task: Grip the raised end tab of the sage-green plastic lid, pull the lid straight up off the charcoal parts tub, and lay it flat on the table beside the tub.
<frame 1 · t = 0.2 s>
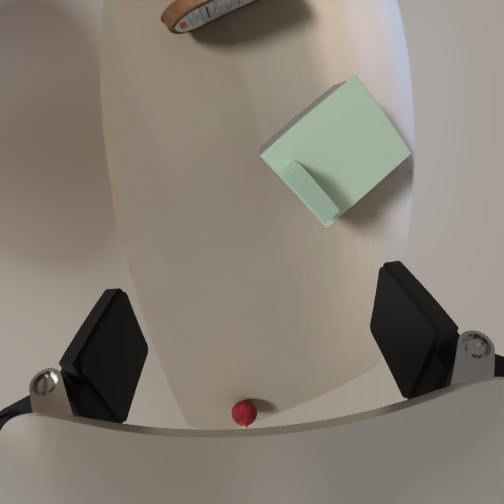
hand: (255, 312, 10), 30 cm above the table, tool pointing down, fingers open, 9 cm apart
onion: (244, 400, 60), on the table
tin: (222, 10, 26), on the table
tub: (323, 145, 35), on the table
lid: (336, 149, 30), point 6 cm above the table, touching tub
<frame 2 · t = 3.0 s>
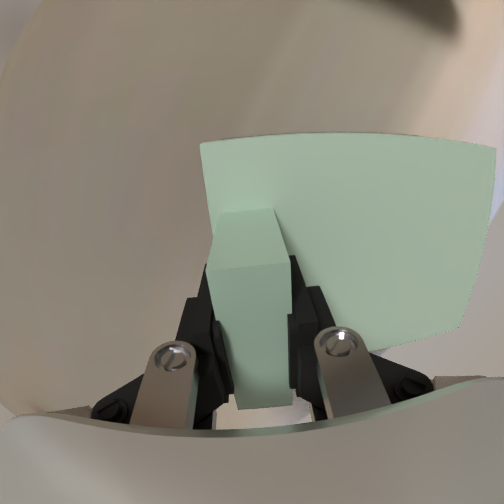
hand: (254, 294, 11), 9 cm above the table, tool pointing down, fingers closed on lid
lid: (364, 244, 14), point 6 cm above the table, touching gripper
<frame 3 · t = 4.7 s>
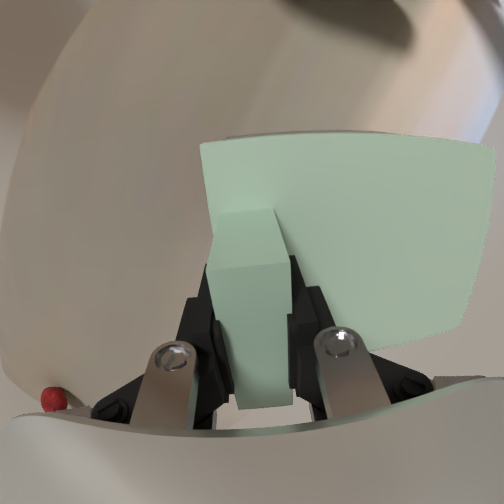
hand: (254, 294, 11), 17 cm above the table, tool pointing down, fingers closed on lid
onion: (60, 387, 41), on the table
tub: (307, 187, 26), on the table
lid: (364, 244, 14), point 14 cm above the table, touching gripper
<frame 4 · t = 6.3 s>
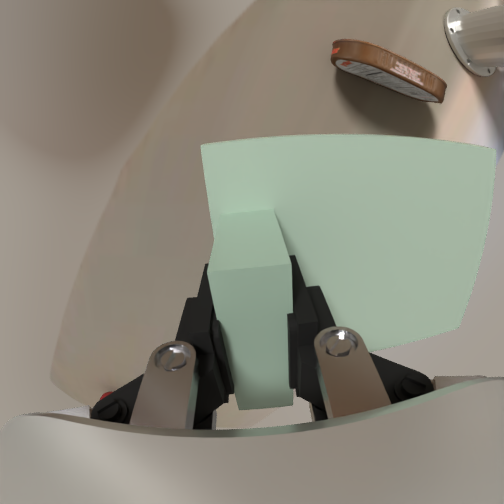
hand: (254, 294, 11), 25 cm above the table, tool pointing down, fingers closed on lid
tin: (376, 77, 28), on the table
lid: (364, 245, 14), point 22 cm above the table, touching gripper
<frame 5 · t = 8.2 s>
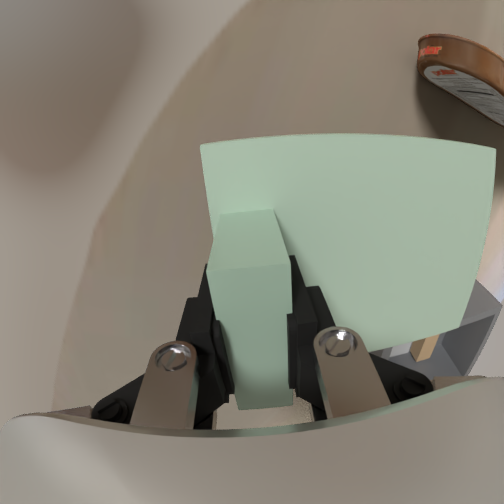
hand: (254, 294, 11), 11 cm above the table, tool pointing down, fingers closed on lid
tin: (461, 92, 16), on the table
tub: (408, 321, 27), on the table
lid: (364, 244, 14), point 8 cm above the table, touching gripper
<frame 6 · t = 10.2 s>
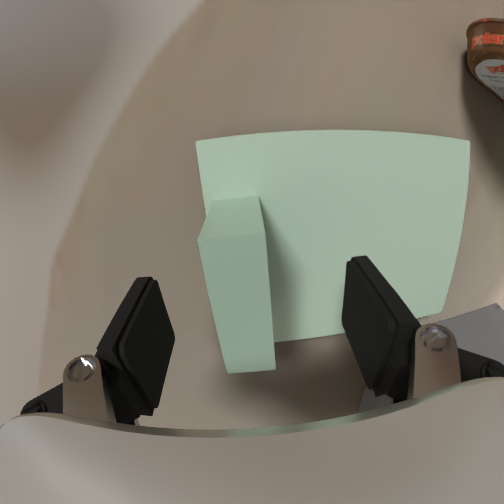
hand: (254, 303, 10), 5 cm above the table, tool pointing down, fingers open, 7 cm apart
tub: (431, 362, 21), on the table
lid: (345, 230, 15), on the table
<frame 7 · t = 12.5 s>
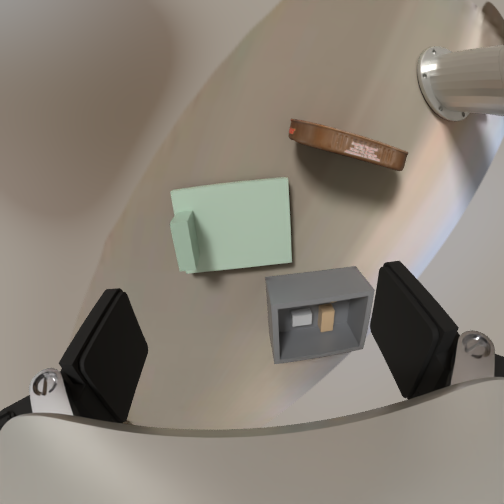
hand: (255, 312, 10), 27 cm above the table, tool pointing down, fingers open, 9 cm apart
tin: (337, 142, 33), on the table
tub: (311, 302, 43), on the table
lid: (233, 222, 37), on the table
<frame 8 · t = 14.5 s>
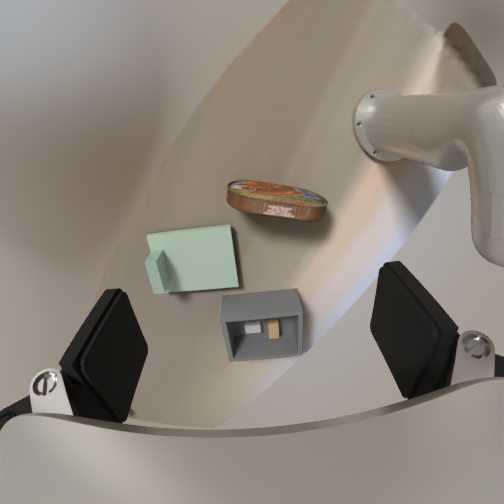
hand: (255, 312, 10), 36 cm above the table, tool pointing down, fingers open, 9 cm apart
tin: (274, 193, 45), on the table
tub: (261, 315, 55), on the table
lid: (194, 256, 49), on the table
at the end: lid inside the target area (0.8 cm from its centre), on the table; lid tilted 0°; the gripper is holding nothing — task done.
